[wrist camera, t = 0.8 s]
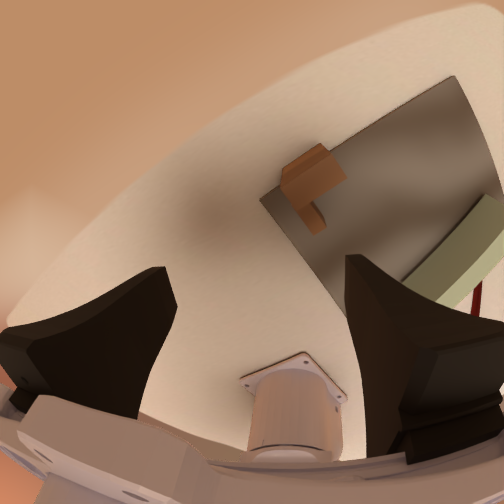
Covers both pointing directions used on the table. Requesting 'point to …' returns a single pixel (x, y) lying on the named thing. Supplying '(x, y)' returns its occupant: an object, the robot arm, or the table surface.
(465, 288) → the gate
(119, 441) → the robot arm
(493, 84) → the table surface
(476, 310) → the chopstick
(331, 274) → the grey base plate
